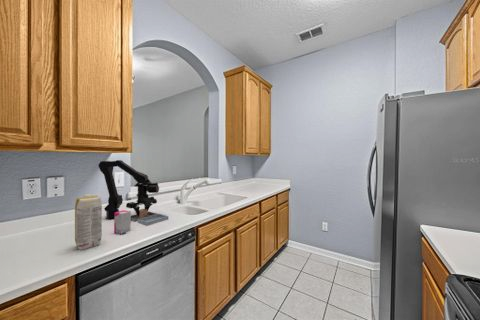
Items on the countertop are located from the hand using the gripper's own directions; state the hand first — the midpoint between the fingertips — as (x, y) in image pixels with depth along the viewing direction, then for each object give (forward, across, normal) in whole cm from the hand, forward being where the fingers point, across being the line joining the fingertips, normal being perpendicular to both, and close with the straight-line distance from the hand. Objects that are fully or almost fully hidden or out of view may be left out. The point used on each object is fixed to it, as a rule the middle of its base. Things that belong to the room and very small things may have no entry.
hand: (142, 215), depth 131 cm
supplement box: (+2, -20, -15) cm, 25 cm away
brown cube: (+1, 0, 0) cm, 1 cm away
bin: (+2, 0, 0) cm, 2 cm away
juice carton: (+2, -37, -19) cm, 42 cm away
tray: (+2, 0, -13) cm, 13 cm away
